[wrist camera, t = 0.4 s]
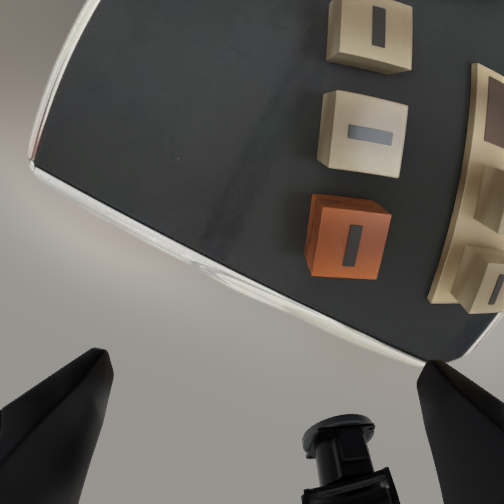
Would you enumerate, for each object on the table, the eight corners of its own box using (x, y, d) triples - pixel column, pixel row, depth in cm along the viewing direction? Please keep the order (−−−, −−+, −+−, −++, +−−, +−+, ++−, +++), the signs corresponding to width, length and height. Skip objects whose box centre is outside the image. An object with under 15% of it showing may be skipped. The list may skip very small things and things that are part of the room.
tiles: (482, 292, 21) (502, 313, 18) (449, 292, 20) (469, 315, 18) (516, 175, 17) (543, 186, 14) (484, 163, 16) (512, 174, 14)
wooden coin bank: (361, 258, 20) (377, 280, 17) (303, 254, 20) (311, 277, 17) (373, 199, 19) (393, 215, 16) (312, 192, 18) (323, 207, 16)
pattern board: (485, 298, 22) (490, 303, 21) (426, 298, 22) (431, 304, 21) (529, 95, 15) (536, 96, 14) (471, 63, 14) (478, 62, 13)
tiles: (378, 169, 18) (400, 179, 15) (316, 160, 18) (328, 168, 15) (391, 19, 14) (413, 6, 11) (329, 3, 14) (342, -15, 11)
